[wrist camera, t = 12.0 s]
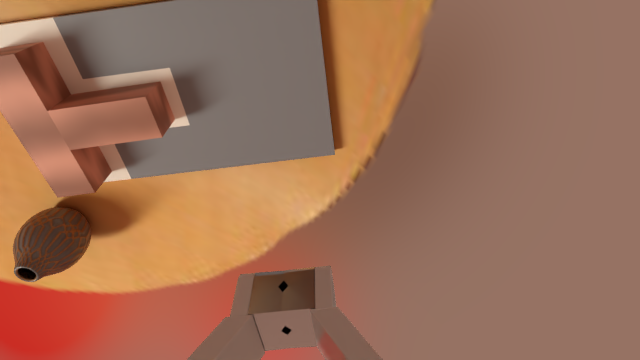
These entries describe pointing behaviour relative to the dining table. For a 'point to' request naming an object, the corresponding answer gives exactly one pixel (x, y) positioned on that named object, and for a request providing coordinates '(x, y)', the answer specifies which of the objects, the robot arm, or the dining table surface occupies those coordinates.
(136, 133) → the t block
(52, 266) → the vase
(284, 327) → the robot arm
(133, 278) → the dining table surface
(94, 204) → the dining table surface
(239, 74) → the board
